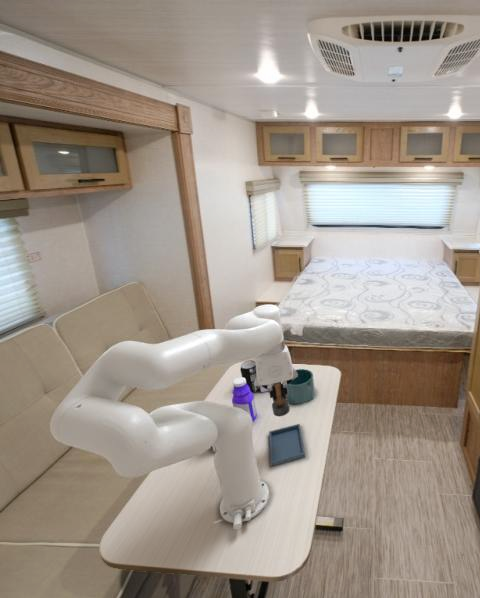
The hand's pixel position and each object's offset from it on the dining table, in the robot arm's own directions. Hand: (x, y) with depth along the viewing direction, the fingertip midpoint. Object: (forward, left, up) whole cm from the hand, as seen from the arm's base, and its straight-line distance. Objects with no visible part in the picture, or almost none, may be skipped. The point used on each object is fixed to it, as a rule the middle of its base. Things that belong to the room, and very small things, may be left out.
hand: (279, 397), depth 107 cm
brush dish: (0, 0, -20) cm, 20 cm away
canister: (+25, -7, -20) cm, 33 cm away
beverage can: (+37, +11, -20) cm, 44 cm away
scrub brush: (0, 0, -5) cm, 5 cm away
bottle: (+18, +13, -20) cm, 30 cm away
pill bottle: (+8, +21, -20) cm, 30 cm away
